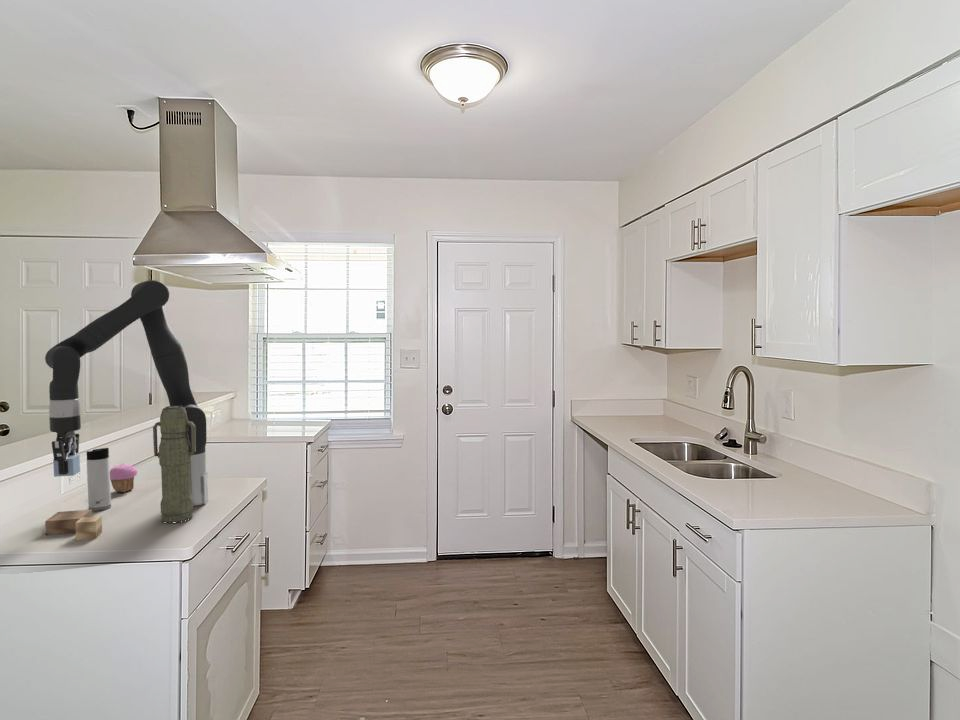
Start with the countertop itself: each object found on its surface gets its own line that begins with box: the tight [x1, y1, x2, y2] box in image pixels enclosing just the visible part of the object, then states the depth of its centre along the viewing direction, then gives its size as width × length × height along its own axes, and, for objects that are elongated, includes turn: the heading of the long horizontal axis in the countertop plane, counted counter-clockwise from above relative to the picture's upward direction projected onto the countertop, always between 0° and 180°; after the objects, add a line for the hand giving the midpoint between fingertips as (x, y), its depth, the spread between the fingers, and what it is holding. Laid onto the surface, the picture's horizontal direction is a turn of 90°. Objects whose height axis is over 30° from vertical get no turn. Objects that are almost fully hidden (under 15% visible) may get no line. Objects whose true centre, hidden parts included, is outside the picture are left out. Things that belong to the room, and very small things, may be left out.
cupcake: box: [110, 463, 138, 493], centre depth 221 cm, size 9×9×10 cm
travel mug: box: [86, 447, 112, 512], centre depth 201 cm, size 6×7×20 cm
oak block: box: [75, 515, 103, 541], centre depth 175 cm, size 5×5×5 cm
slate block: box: [52, 454, 81, 477], centre depth 180 cm, size 5×5×5 cm
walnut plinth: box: [44, 509, 93, 535], centre depth 181 cm, size 9×9×4 cm
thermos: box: [152, 405, 196, 524], centre depth 189 cm, size 9×12×35 cm
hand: (67, 471), depth 180 cm, fingers closed on slate block, 5 cm apart
